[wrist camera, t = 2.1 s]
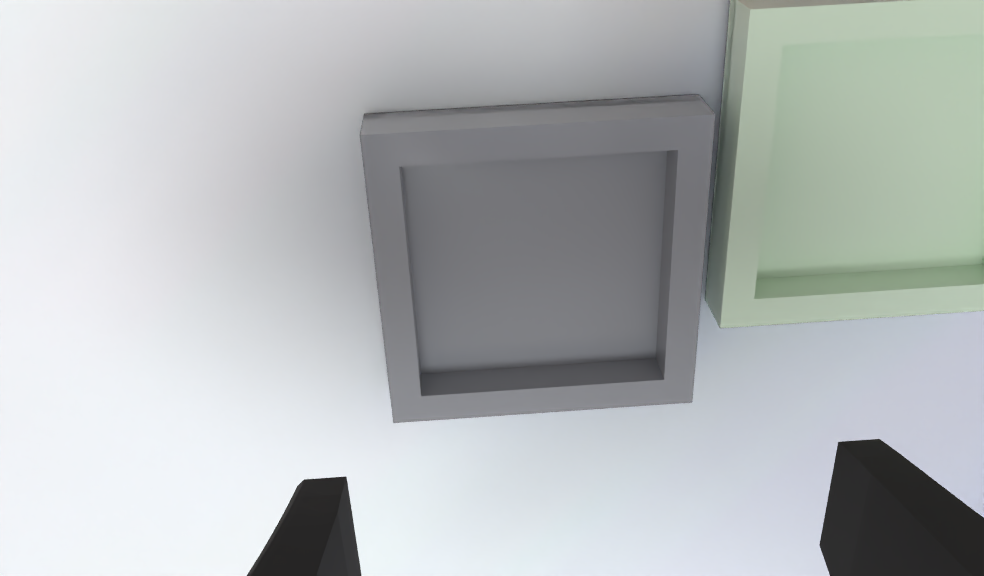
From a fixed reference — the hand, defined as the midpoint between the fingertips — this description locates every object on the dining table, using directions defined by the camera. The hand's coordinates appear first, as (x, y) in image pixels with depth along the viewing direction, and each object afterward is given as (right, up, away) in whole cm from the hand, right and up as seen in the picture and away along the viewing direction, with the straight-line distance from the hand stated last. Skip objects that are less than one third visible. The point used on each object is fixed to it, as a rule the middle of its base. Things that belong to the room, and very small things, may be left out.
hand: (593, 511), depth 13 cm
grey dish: (-1, +4, +7) cm, 8 cm away
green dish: (+7, +6, +7) cm, 11 cm away
